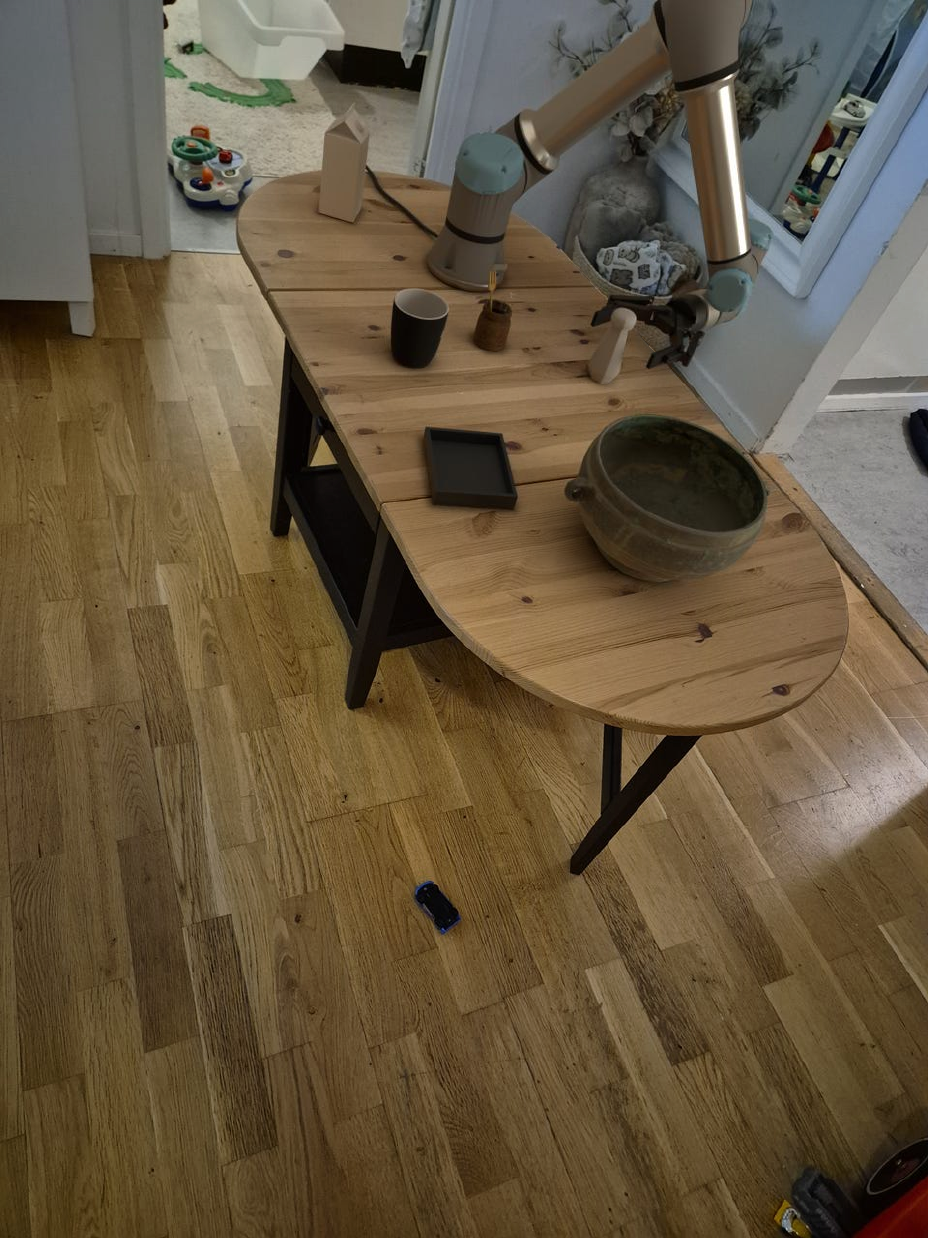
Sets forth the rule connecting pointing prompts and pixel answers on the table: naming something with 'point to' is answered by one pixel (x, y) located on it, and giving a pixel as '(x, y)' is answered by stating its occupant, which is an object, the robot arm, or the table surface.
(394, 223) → the table surface
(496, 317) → the utensil holder
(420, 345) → the mug
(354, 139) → the milk carton
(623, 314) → the salt shaker
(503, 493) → the tray
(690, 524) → the bowl
